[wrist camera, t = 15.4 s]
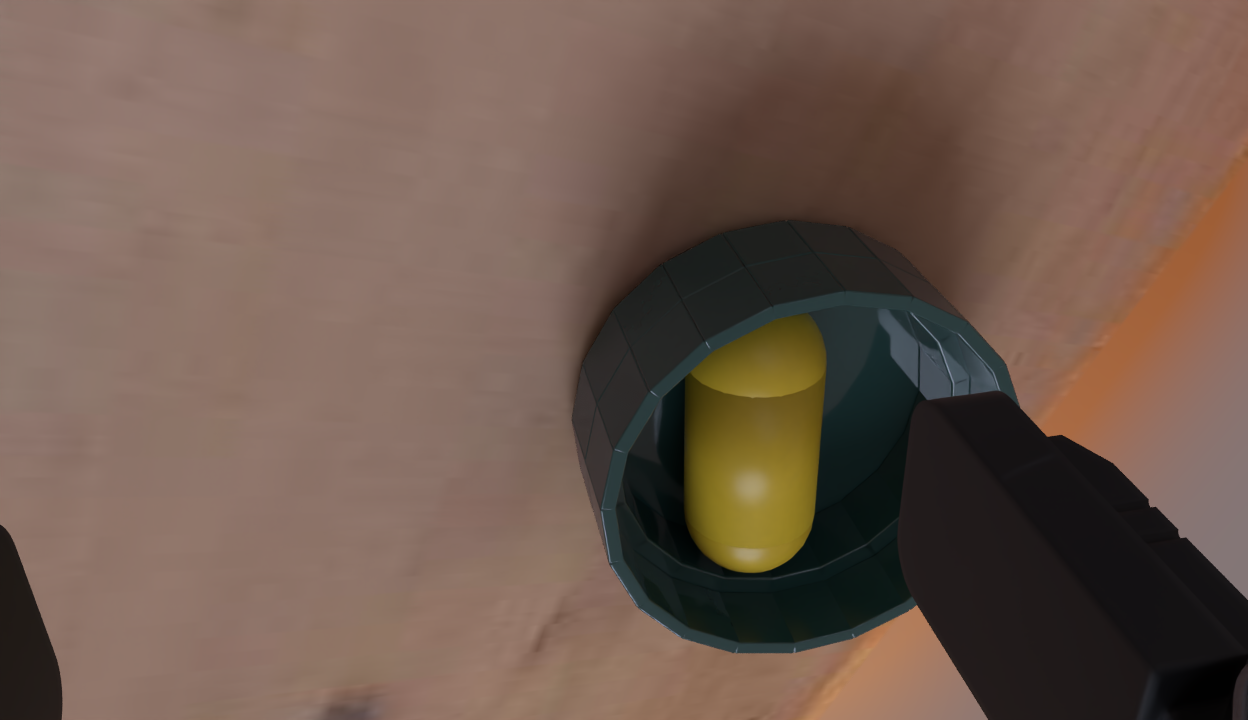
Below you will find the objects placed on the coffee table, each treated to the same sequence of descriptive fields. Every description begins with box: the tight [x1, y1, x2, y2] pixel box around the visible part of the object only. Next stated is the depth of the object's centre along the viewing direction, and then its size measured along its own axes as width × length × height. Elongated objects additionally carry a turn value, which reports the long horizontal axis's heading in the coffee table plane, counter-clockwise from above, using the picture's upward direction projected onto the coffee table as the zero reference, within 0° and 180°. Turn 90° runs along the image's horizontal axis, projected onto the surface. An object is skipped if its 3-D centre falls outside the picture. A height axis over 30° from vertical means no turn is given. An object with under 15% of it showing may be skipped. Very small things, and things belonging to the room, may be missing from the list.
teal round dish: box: [572, 220, 1020, 653], centre depth 40 cm, size 14×14×6 cm
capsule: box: [684, 313, 827, 573], centre depth 40 cm, size 11×5×5 cm
